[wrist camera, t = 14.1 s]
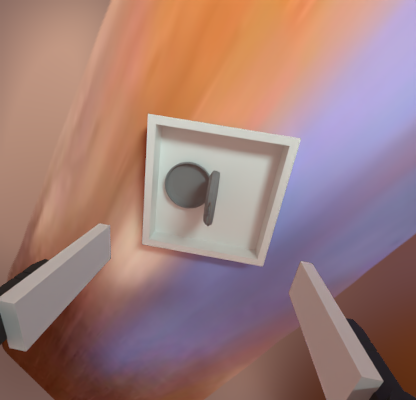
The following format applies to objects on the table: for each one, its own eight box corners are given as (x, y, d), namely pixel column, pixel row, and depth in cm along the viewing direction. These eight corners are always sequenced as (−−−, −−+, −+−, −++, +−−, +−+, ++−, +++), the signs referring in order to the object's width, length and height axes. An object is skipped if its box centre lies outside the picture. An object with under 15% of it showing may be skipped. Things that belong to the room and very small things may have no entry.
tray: (291, 137, 26) (301, 138, 23) (259, 252, 33) (262, 266, 29) (157, 115, 27) (148, 113, 24) (150, 232, 33) (141, 244, 30)
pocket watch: (158, 173, 29) (124, 194, 19) (211, 147, 27) (203, 157, 17) (184, 221, 31) (166, 261, 21) (236, 200, 29) (240, 234, 20)
